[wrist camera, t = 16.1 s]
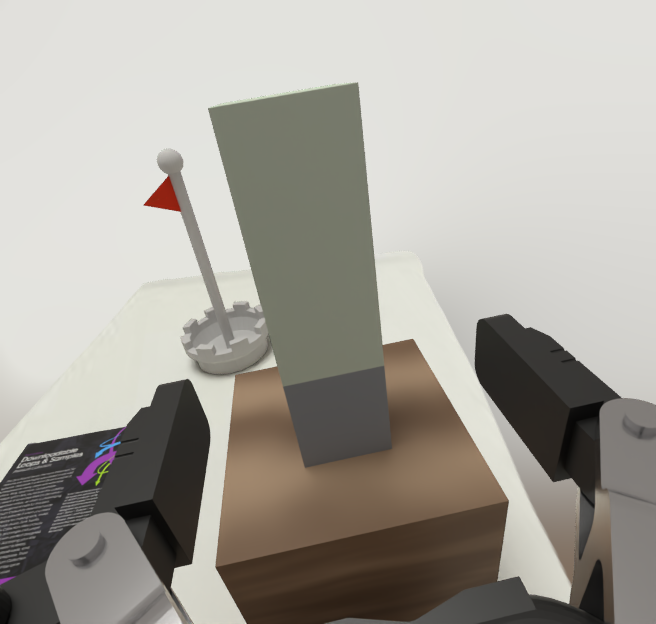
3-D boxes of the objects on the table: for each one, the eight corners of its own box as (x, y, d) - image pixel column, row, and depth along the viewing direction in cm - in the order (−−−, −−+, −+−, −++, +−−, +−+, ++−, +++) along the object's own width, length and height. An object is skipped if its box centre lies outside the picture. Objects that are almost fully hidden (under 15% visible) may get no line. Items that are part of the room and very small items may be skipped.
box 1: (91, 626, 32) (155, 438, 49) (71, 607, 30) (144, 418, 47) (-82, 659, 32) (41, 458, 48) (-114, 641, 30) (26, 438, 46)
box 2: (392, 448, 22) (358, 82, 13) (304, 467, 22) (207, 107, 13) (371, 390, 26) (334, 84, 17) (298, 405, 26) (222, 103, 17)
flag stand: (235, 321, 70) (178, 140, 54) (291, 339, 62) (243, 135, 47) (174, 364, 61) (86, 162, 46) (230, 389, 54) (147, 160, 39)
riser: (488, 643, 27) (508, 500, 19) (285, 692, 26) (215, 566, 18) (418, 471, 39) (413, 338, 31) (278, 501, 38) (235, 375, 30)
